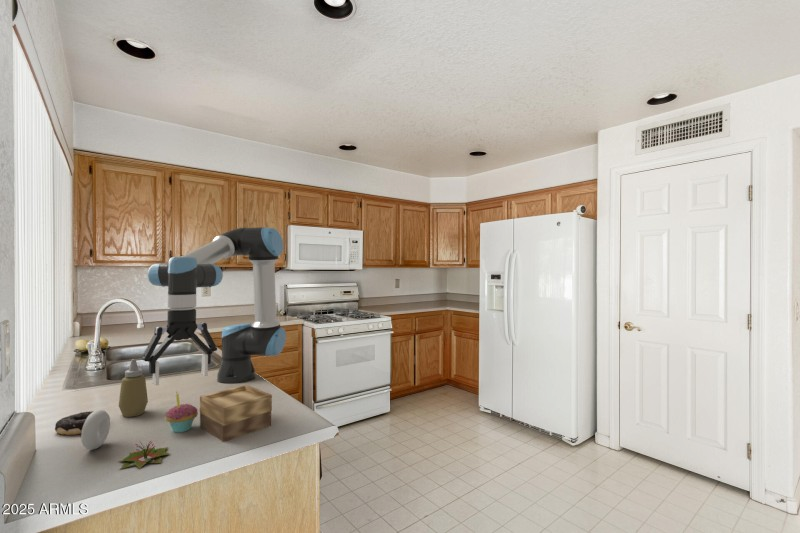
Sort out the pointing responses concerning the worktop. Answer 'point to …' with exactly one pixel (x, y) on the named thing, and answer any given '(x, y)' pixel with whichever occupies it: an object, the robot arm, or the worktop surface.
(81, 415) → the donut
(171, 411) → the cupcake
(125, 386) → the squeeze bottle
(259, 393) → the tower top
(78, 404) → the worktop surface
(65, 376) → the worktop surface
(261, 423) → the tower base
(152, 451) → the lily flower
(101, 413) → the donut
